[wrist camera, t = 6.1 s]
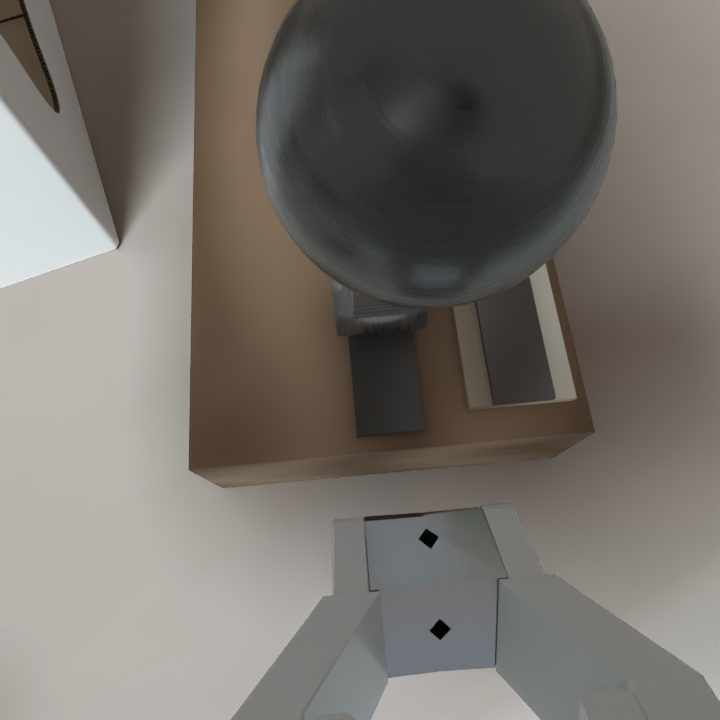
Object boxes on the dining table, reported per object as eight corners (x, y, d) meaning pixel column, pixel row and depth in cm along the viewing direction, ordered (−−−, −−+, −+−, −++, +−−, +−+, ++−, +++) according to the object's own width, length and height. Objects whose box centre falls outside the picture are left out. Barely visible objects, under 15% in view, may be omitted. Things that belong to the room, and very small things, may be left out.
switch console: (223, 488, 20) (182, 466, 16) (220, 17, 28) (193, -81, 24) (553, 456, 20) (601, 427, 16) (456, -3, 28) (471, -104, 24)
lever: (330, 351, 18) (239, 304, 4) (321, 251, 18) (195, -183, 4) (430, 342, 18) (729, 261, 4) (421, 242, 18) (681, -225, 4)
